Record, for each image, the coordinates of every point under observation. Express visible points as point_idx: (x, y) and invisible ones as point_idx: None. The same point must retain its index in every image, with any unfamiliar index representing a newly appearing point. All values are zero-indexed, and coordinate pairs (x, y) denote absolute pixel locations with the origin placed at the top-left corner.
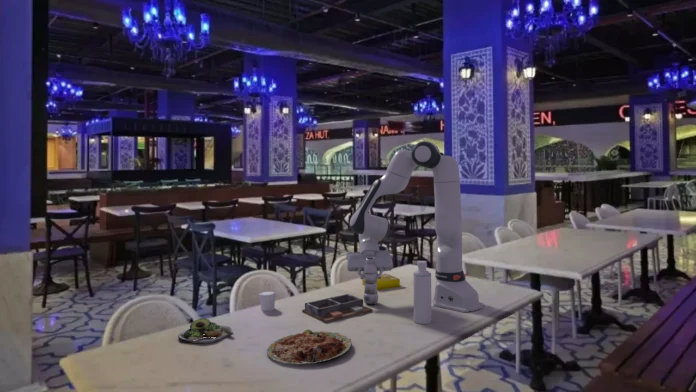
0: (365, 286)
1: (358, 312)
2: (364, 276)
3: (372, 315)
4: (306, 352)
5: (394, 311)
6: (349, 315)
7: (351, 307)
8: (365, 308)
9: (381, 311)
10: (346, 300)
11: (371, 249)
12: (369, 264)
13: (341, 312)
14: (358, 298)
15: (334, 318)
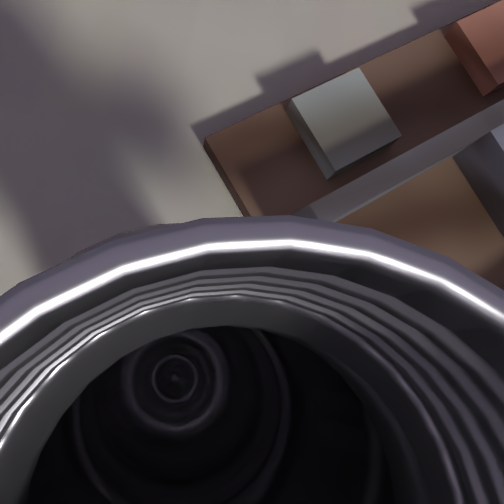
0: (266, 363)
1: (326, 81)
2: (329, 371)
3: (216, 56)
4: None
5: (6, 107)
6: (391, 53)
7: (387, 133)
8: (259, 166)
9: (123, 132)
10: None
11: None
12: (289, 324)
13: (450, 110)
14: None
15: (491, 4)
